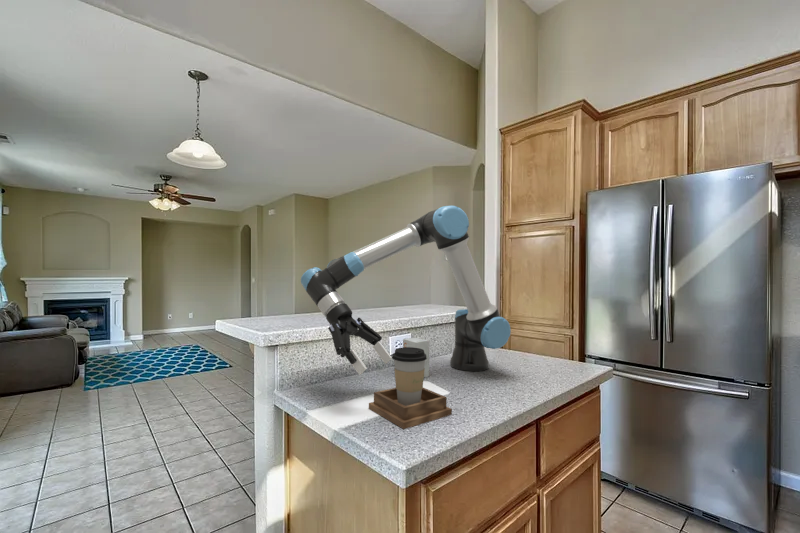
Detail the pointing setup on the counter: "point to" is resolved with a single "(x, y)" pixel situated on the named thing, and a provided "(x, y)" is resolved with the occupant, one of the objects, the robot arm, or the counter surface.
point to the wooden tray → (410, 408)
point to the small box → (422, 345)
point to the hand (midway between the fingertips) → (376, 366)
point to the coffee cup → (409, 374)
